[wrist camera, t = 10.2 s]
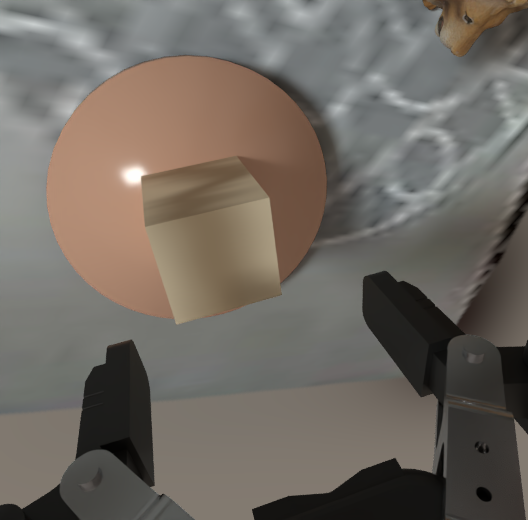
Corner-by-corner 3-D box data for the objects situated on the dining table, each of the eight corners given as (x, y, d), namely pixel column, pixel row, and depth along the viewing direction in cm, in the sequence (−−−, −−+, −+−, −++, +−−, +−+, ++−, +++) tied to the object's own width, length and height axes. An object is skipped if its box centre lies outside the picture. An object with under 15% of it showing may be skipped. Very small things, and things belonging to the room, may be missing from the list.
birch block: (236, 155, 21) (269, 197, 16) (249, 237, 24) (281, 294, 19) (140, 176, 20) (144, 227, 15) (165, 258, 23) (176, 324, 18)
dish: (309, 33, 21) (322, 34, 19) (320, 272, 29) (330, 284, 28) (-3, 81, 18) (-14, 86, 17) (106, 329, 26) (104, 346, 25)
